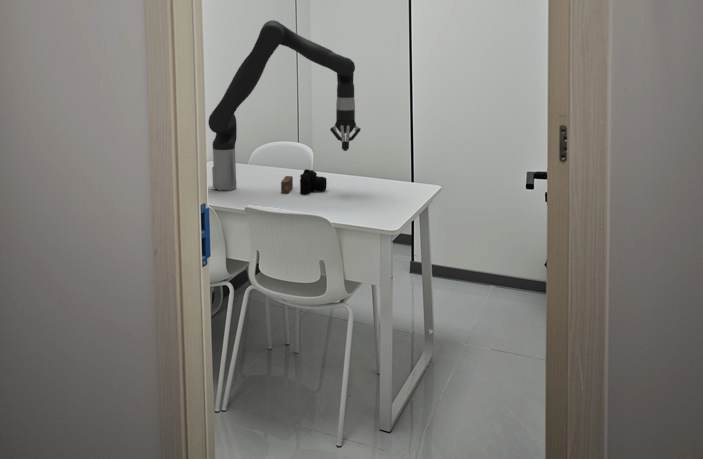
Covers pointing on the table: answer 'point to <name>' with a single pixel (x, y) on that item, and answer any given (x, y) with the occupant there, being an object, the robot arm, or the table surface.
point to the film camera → (311, 182)
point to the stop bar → (286, 184)
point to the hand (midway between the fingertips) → (345, 150)
